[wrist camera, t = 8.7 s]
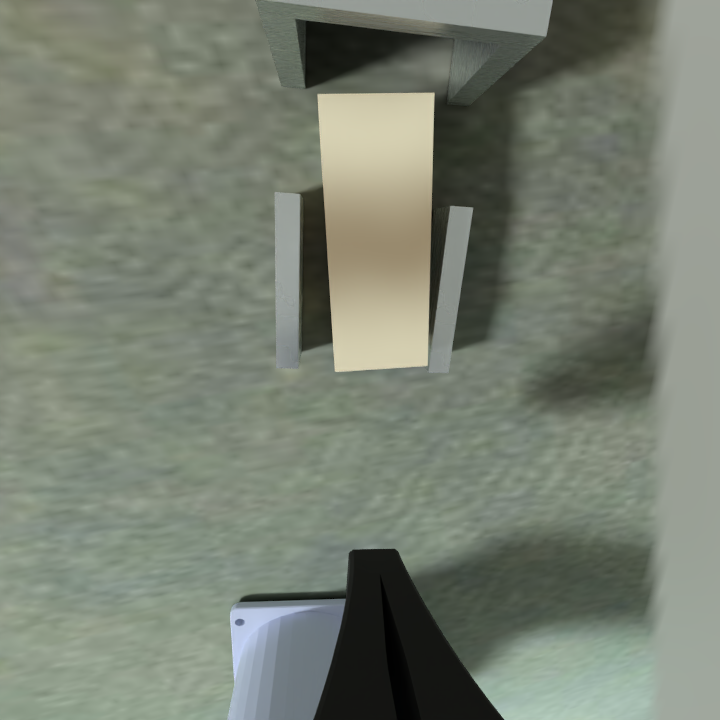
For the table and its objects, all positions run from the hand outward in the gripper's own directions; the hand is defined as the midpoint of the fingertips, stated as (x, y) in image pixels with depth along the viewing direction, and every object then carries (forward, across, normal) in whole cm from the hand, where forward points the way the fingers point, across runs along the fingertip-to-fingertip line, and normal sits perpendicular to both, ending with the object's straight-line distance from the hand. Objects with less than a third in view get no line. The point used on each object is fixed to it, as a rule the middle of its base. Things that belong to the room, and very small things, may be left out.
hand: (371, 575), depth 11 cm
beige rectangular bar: (+7, 0, -9) cm, 12 cm away
